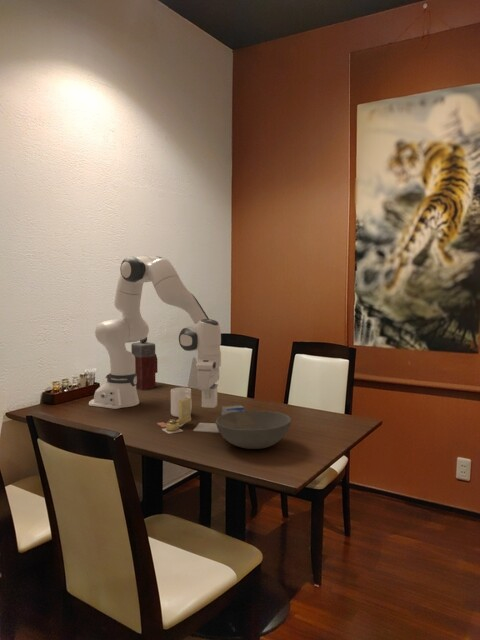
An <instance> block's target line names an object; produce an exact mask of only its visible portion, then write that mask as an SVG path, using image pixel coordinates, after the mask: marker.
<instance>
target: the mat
mask: <svg viewBox="0 0 480 640" xmlns="http://www.w3.org/2000/svg"><path fill="white" fill-rule="evenodd" d="M192 431H193V432H198V433H199V432H200V433H201V432H202V433H216V434H220V432H219V430H218V428H217V425H216V423H214V422H213V423H211V422H199V423H198V424H197V425H196V427H194V429H193V430H192Z"/></svg>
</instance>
